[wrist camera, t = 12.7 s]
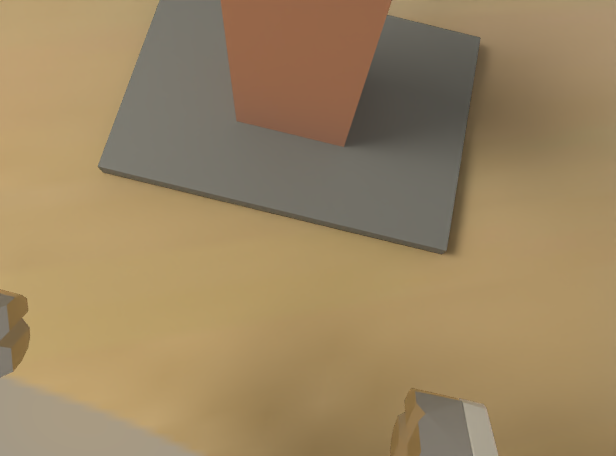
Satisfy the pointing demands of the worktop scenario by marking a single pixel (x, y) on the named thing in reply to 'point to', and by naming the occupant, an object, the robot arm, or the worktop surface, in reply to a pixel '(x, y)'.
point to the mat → (294, 149)
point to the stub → (301, 62)
